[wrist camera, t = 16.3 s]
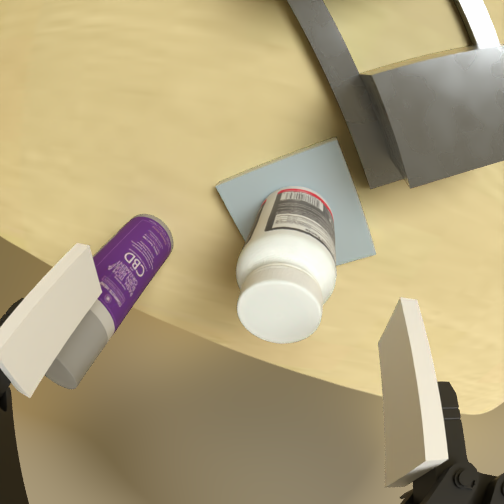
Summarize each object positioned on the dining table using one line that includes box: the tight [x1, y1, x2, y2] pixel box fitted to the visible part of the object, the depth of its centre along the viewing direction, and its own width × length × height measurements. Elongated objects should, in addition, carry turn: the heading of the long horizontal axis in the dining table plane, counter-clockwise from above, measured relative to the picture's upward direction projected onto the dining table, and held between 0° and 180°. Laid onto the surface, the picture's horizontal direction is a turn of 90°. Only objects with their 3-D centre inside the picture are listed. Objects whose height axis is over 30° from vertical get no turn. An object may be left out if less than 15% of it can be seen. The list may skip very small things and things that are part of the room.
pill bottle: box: [236, 186, 337, 343], centre depth 18 cm, size 5×5×10 cm
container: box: [45, 214, 173, 389], centre depth 21 cm, size 5×5×15 cm
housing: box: [287, 0, 504, 189], centre depth 11 cm, size 22×13×6 cm, turn 26°
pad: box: [216, 137, 376, 266], centre depth 23 cm, size 9×9×1 cm
